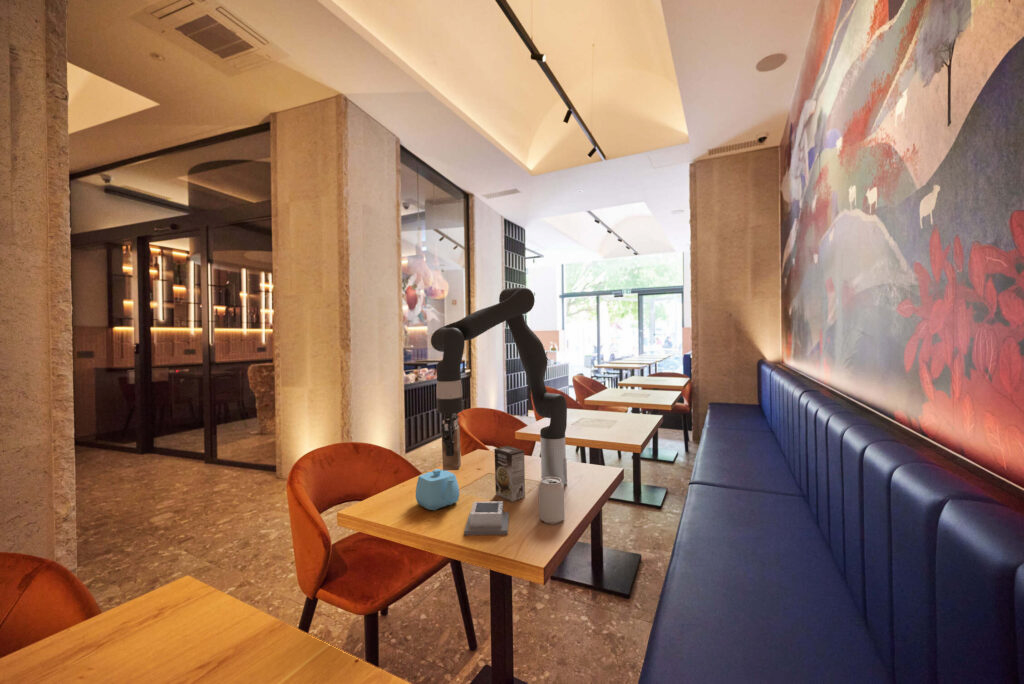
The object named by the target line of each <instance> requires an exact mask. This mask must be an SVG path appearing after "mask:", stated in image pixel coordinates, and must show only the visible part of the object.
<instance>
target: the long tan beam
mask: <svg viewBox="0 0 1024 684" xmlns="http://www.w3.org/2000/svg"><path fill="white" fill-rule="evenodd" d="M460 430H461V429H460V425H458V426H456V429H455V435H454V455H453V456H446V444H445V443H444V442H443V433H442V428H441V451H442V452H441V455H442V458H441V459H442V470H443V471H459V470H460V468H461V466H462V462H461V461H462V460H461V438H460V437H461V433H460ZM452 432H453V429H452ZM447 438H450V436H447Z"/></svg>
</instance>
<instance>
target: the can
mask: <svg viewBox="0 0 1024 684" xmlns="http://www.w3.org/2000/svg"><path fill="white" fill-rule="evenodd" d="M564 486H565V485H563V483H562V482H561V479H560V478H557V477H544V478H541V479H540V482H539V483H538V510H539V511H538V512H539V519H540V520H541V521H542V522H543V521H544V522H543V523H545V524H548V523H549V524H548V525H555V524H556V523H557V524H559V522H560V523H561V522H562V521H563V520H564V519H565V518H566V513H565V487H564Z"/></svg>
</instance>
